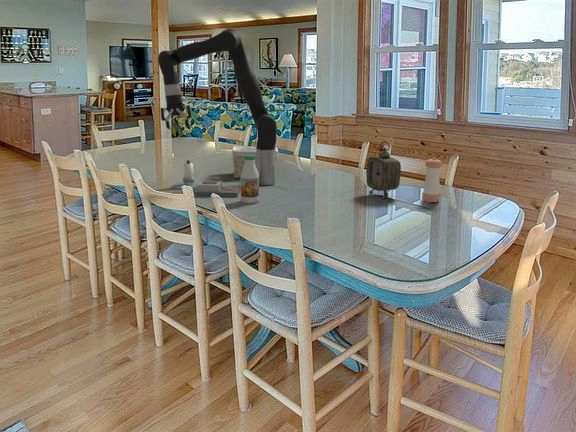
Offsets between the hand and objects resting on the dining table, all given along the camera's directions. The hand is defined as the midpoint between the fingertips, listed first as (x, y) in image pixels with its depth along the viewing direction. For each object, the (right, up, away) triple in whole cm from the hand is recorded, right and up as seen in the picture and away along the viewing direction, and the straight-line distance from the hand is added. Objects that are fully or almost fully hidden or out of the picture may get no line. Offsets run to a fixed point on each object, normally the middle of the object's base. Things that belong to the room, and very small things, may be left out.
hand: (178, 128), depth 265 cm
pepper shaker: (+116, -36, -24) cm, 124 cm away
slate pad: (+6, -29, -5) cm, 30 cm away
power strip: (+21, -32, -18) cm, 43 cm away
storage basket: (+36, -22, +23) cm, 48 cm away
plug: (+6, -28, -5) cm, 29 cm away
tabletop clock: (+96, -34, -18) cm, 103 cm away
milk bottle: (+37, -37, -32) cm, 61 cm away
